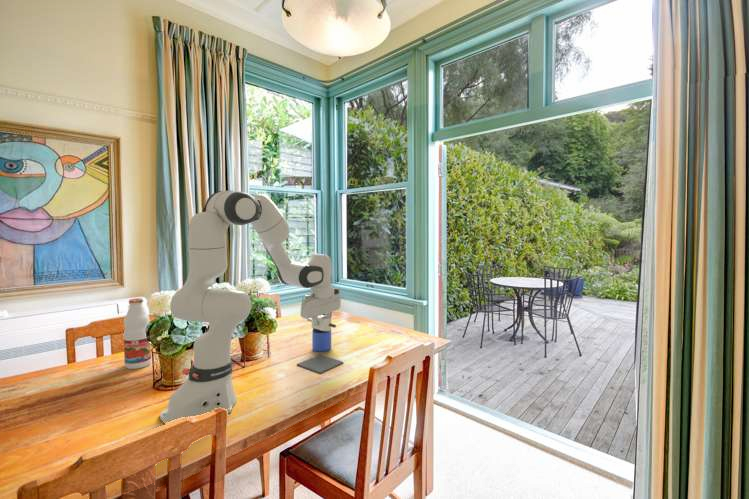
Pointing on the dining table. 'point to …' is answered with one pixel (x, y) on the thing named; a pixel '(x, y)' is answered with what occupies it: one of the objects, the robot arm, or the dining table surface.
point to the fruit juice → (136, 336)
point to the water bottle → (321, 339)
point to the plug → (322, 323)
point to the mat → (320, 363)
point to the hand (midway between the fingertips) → (321, 324)
